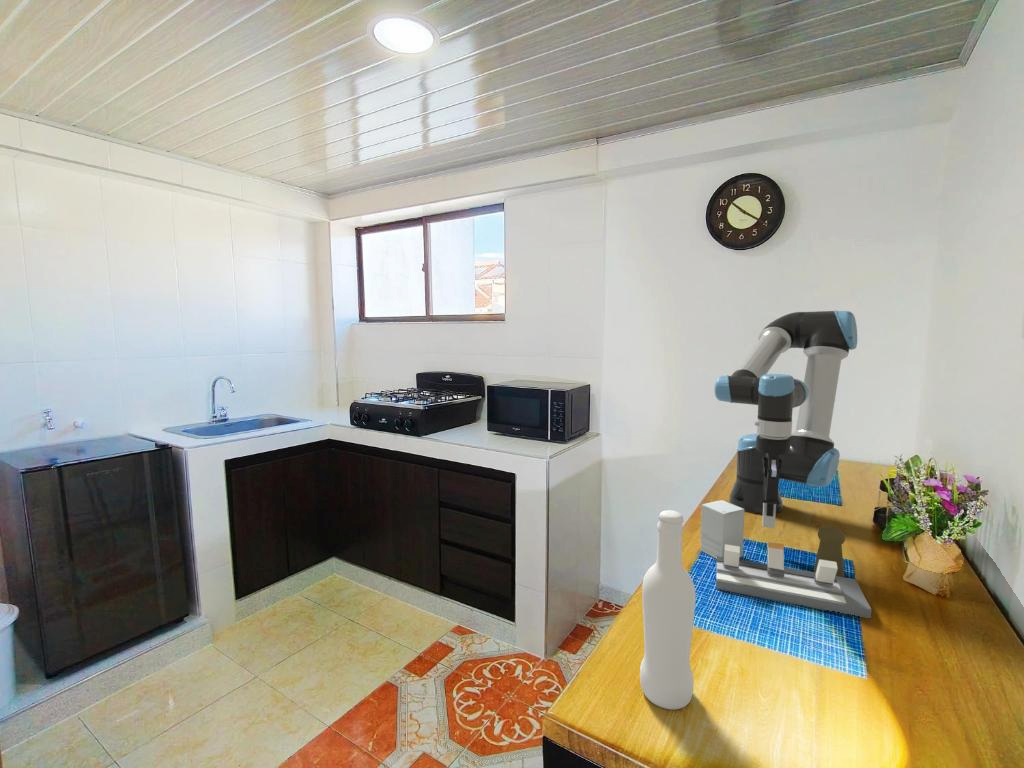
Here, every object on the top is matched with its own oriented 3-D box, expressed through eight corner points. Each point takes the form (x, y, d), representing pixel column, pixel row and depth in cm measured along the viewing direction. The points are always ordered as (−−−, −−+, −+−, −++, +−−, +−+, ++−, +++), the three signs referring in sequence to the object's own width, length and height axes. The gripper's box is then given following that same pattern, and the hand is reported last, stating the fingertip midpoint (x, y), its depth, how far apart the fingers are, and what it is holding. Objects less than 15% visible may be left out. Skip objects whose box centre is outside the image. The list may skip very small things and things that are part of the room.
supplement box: (743, 557, 117) (746, 508, 116) (721, 563, 114) (723, 513, 113) (720, 544, 124) (722, 499, 122) (699, 550, 121) (700, 503, 120)
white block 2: (814, 577, 101) (818, 559, 97) (831, 580, 100) (836, 562, 96) (814, 584, 100) (819, 565, 96) (832, 587, 99) (838, 568, 95)
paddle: (767, 574, 105) (767, 542, 107) (783, 576, 103) (783, 544, 106) (767, 573, 103) (767, 541, 105) (784, 576, 102) (784, 544, 104)
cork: (849, 581, 105) (853, 535, 104) (820, 578, 107) (823, 533, 105) (836, 567, 111) (840, 524, 110) (808, 565, 112) (811, 522, 111)
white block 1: (723, 561, 109) (724, 544, 105) (738, 564, 107) (740, 546, 104) (723, 567, 107) (724, 550, 104) (738, 570, 106) (740, 552, 102)
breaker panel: (716, 563, 114) (717, 553, 114) (854, 587, 103) (855, 577, 102) (716, 588, 103) (716, 578, 103) (870, 619, 92) (871, 607, 92)
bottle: (632, 675, 78) (635, 504, 74) (679, 671, 79) (684, 501, 75) (650, 715, 70) (654, 525, 66) (702, 710, 71) (709, 522, 67)
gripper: (755, 429, 124) (750, 515, 126) (758, 440, 112) (753, 534, 115) (787, 432, 121) (782, 519, 123) (794, 443, 109) (788, 539, 112)
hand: (768, 526), depth 119 cm, fingers closed
